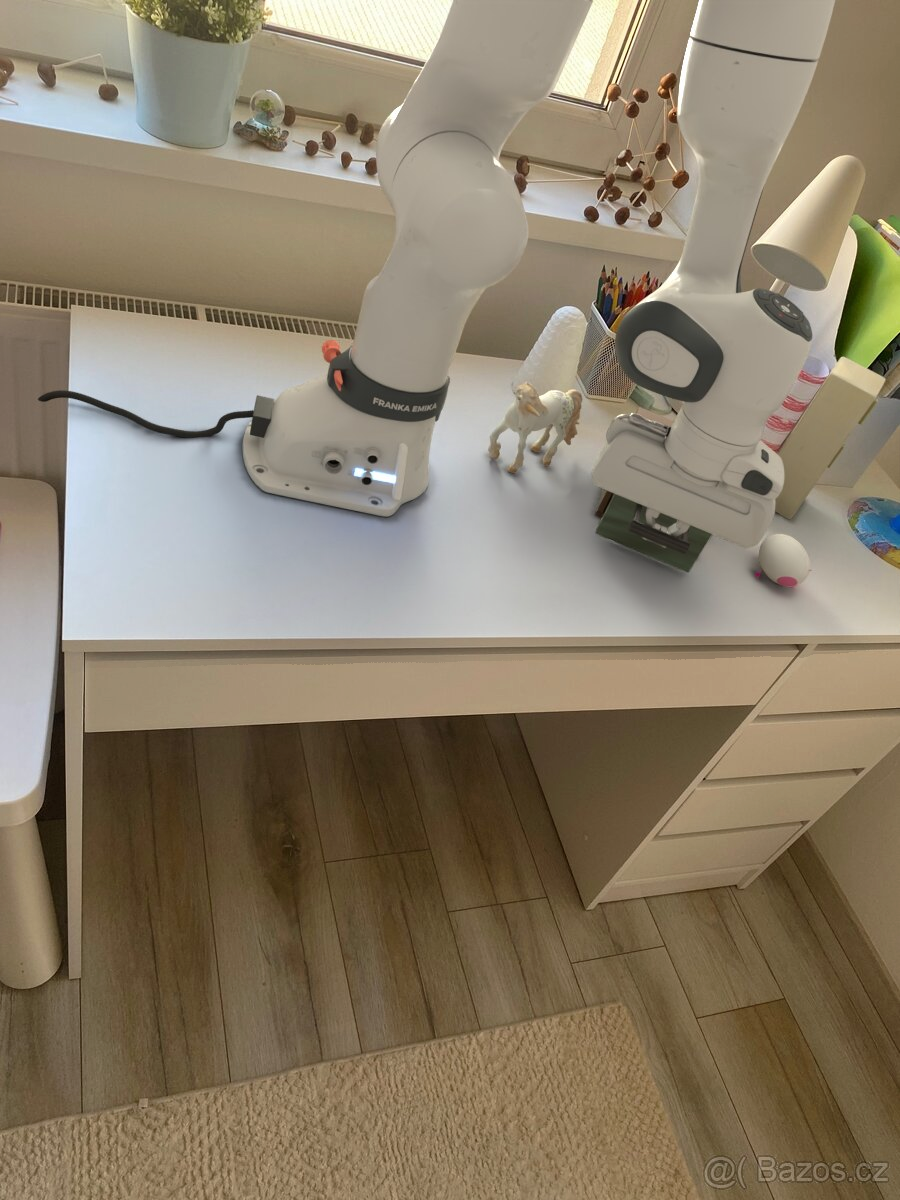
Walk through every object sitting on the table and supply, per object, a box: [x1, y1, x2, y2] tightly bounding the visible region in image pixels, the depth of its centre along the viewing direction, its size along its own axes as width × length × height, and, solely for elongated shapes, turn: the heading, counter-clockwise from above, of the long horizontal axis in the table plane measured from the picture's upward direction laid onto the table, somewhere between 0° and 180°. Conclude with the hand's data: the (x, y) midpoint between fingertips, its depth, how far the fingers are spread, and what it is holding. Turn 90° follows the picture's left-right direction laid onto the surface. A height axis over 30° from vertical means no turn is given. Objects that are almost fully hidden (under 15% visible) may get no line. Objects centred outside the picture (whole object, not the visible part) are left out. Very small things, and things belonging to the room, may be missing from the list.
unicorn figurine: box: [488, 381, 583, 474], centre depth 115 cm, size 7×20×13 cm, turn 147°
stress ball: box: [754, 533, 811, 588], centre depth 116 cm, size 8×8×7 cm
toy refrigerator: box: [775, 356, 886, 520], centre depth 126 cm, size 8×7×21 cm
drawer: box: [594, 493, 713, 573], centre depth 111 cm, size 18×12×8 cm
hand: (654, 540), depth 106 cm, fingers closed
